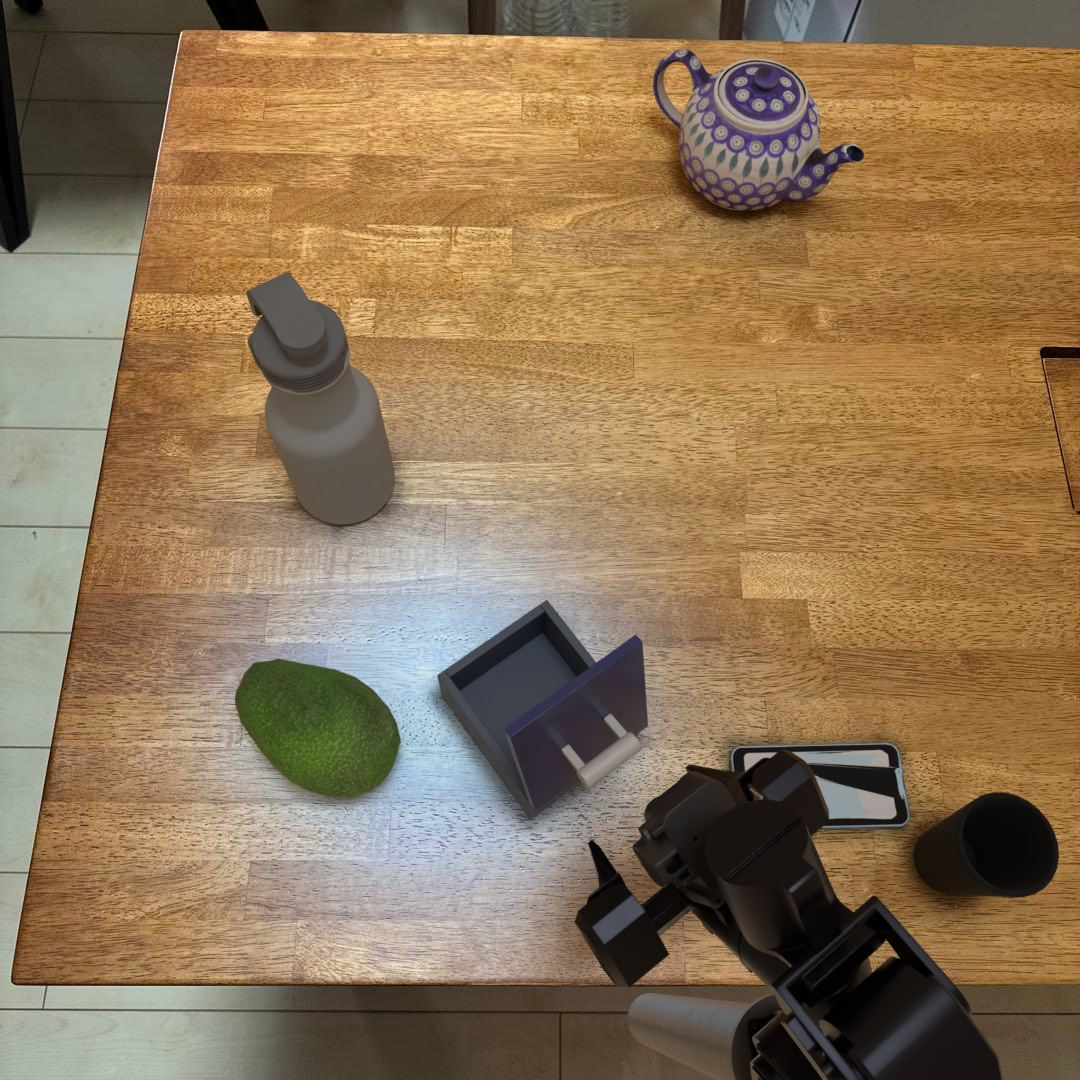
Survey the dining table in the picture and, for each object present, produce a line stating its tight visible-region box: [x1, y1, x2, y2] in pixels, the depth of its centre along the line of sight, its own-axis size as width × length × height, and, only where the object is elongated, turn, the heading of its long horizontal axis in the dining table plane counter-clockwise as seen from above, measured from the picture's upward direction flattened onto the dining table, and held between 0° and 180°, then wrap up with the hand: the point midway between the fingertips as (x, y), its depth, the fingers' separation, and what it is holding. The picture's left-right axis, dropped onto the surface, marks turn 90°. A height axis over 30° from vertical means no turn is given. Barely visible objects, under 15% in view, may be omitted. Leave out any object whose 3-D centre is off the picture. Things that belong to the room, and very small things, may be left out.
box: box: [436, 599, 640, 821], centre depth 88 cm, size 14×12×7 cm
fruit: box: [234, 658, 402, 798], centre depth 86 cm, size 15×10×10 cm, turn 55°
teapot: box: [652, 48, 865, 211], centre depth 110 cm, size 25×15×15 cm, turn 51°
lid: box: [504, 634, 649, 811], centre depth 76 cm, size 14×12×4 cm
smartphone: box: [729, 741, 911, 831], centre depth 89 cm, size 7×1×15 cm
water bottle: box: [245, 271, 396, 526], centre depth 87 cm, size 10×10×28 cm
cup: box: [912, 791, 1060, 898], centre depth 82 cm, size 8×8×12 cm
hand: (641, 807), depth 75 cm, fingers open, 9 cm apart
